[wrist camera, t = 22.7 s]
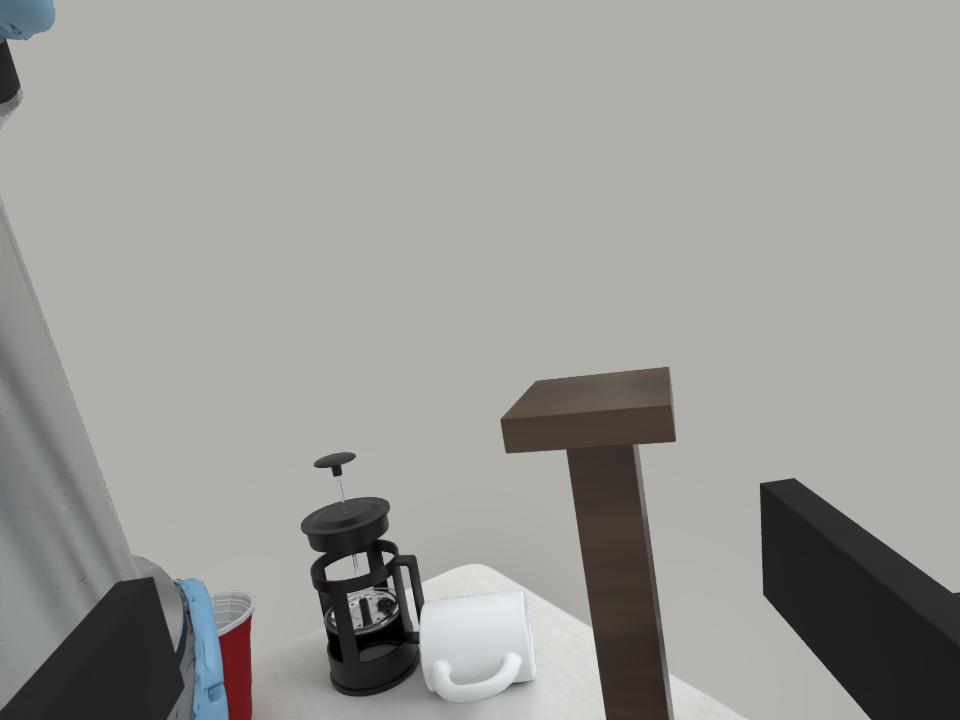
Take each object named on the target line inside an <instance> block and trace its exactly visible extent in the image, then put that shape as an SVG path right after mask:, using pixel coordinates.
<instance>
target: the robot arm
mask: <svg viewBox="0 0 960 720" xmlns="http://www.w3.org/2000/svg"><path fill="white" fill-rule="evenodd" d="M54 21H55V9H54V6H53V1H52V0H0V129H1V128H2V126H3V125H4V124H5V122H6V121H7V120H8V119H9V117H10V116H11V115H12V114H13V112H14V111H15V110H16V108H17V107H18V106H19V104H20V102H21V101H22V99H23V91H22V88H21V85H20V82H19V79H18V76H17V73H16V69H15V66H14V63H13V60H12V57H11V54H10V50H9V47H8V44H7V41H6V39H15V40H23V39H24V40H28V39H29V38H31V37H32V36H33V35H34V34H37V33H41V32H45V31H47V30H49V29H50V28H51V26H52V25H53V23H54ZM760 501H761V531H762V532H761V535H762V568H763V595H764V596H765V597H766V598H767V599H768V601H769V602H770V603H771V604H772V605H773V606H774V608H775V609H776V610H777V611H778V612H779V613H780V614H781V616H782V617H783V618H784V619H785V620H786V621H787V623H788V624H789V625H790V626H791V627H792V628H793V629H794V631H795V632H796V633H797V634H798V635H799V636H800V638H801V639H802V640H803V641H804V642H805V643H806V645H807V646H808V647H809V648H810V649H811V650H812V652H813V653H814V654H815V655H816V656H817V657H818V658H819V659H820V661H821V662H822V663H823V664H824V665H825V666H826V668H827V669H828V670H829V671H830V672H831V674H832V675H833V676H834V677H835V678H836V679H837V680H838V682H839V683H840V684H841V685H842V686H843V687H844V689H845V690H846V691H847V692H848V693H849V694H850V695H851V697H852V698H853V699H854V700H855V701H856V702H857V704H858V705H859V706H860V707H861V708H862V709H863V711H864V712H865V713H866V714H867V715H868V716H869V717H870V719H871V720H960V592H959V593H951V592H950V591H949V590H947V589H946V588H945V587H943V586H942V585H941V584H939V583H938V582H936V581H935V580H934V579H932V578H931V577H929V576H928V575H927V574H925V573H924V572H923V571H921V570H920V569H919V568H917V567H916V566H914V565H913V564H912V563H910V562H909V561H908V560H906V559H905V558H903V557H902V556H901V555H899V554H898V553H897V552H895V551H894V550H892V549H891V548H890V547H888V546H887V545H886V544H884V543H883V542H881V541H880V540H878V539H877V538H876V537H874V536H873V535H872V534H870V533H869V532H868V531H866V530H865V529H863V528H862V527H861V526H859V525H858V524H857V523H855V522H854V521H852V520H851V519H850V518H848V517H847V516H846V515H844V514H843V513H841V512H840V511H839V510H837V509H836V508H835V507H833V506H832V505H830V504H829V503H828V502H826V501H825V500H823V499H822V498H821V497H819V496H818V495H817V494H815V493H814V492H813V491H811V490H810V489H808V488H807V487H805V486H804V485H803V484H801V483H800V482H799V481H797V480H796V479H795V478H792V479H786V480H779V481H773V482H766V483H760ZM223 682H224V677H223V664H222V656H221V650H220V644H219V638H218V633H217V627H216V622H215V617H214V613H213V608H212V604H211V600H210V597H209V594H208V591H207V588H206V587H205V585H204V583H203V582H201V581H199V580H198V579H195V578H190V579H186V580H181V579H177V580H171V578H170V576H169V575H168V574H167V573H166V572H165V571H164V570H163V569H162V568H161V567H159V566H158V565H156V564H154V563H153V562H151V561H149V560H147V559H144V558H142V557H139V556H136V555H133V554H131V552H130V549H129V546H128V543H127V541H126V538H125V535H124V533H123V530H122V527H121V525H120V522H119V519H118V516H117V513H116V511H115V508H114V505H113V503H112V500H111V497H110V495H109V492H108V489H107V486H106V484H105V481H104V478H103V475H102V473H101V470H100V467H99V465H98V462H97V459H96V456H95V454H94V451H93V448H92V445H91V443H90V440H89V437H88V435H87V432H86V429H85V426H84V424H83V421H82V419H81V416H80V413H79V410H78V407H77V405H76V402H75V399H74V396H73V394H72V391H71V388H70V386H69V383H68V380H67V378H66V375H65V372H64V370H63V367H62V364H61V361H60V359H59V356H58V353H57V350H56V347H55V345H54V342H53V339H52V337H51V334H50V331H49V329H48V326H47V323H46V320H45V318H44V315H43V312H42V309H41V307H40V304H39V301H38V299H37V296H36V293H35V291H34V288H33V285H32V282H31V279H30V277H29V274H28V272H27V269H26V266H25V263H24V261H23V258H22V255H21V252H20V250H19V247H18V244H17V242H16V239H15V236H14V233H13V230H12V228H11V225H10V222H9V220H8V217H7V214H6V212H5V209H4V206H3V203H2V201H1V198H0V720H228V706H227V698H226V692H225V687H224V685H223Z"/></svg>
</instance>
